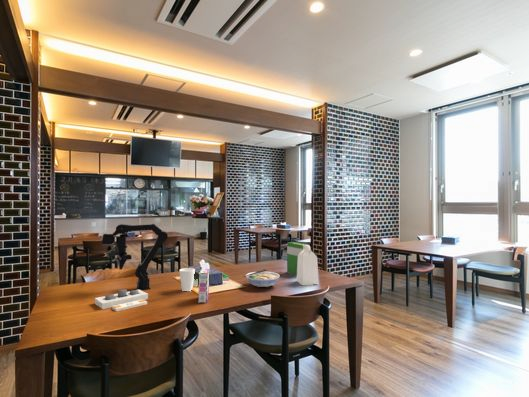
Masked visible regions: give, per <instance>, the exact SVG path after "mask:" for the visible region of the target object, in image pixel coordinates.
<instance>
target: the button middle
mask: <svg viewBox="0 0 529 397" xmlns="http://www.w3.org/2000/svg"><path fill="white" fill-rule="evenodd" d="M127 292H128V291H127V289H126V288H125V289H119V290H117V294H118V297H119V298H121V297H126V296H127Z"/></svg>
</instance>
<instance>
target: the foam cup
mask: <svg viewBox="0 0 529 397" xmlns="http://www.w3.org/2000/svg"><path fill="white" fill-rule="evenodd" d="M195 271H196V269H195V268H193V267H185V268H184V267H183V268H181V269H179V277H180V278H179V279H180V289H181V291H182V292H183V291H190V292H192V291H193V288H194V287H193V281H194V274H195ZM191 290H192V291H191Z"/></svg>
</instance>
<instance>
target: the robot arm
mask: <svg viewBox="0 0 529 397" xmlns="http://www.w3.org/2000/svg"><path fill="white" fill-rule="evenodd" d="M139 231H140V232H143V231H152V232H153V233H154V234H155V235H156V236H157V237H156V240H155V242H154V244H153V246H152V247H151V249H150V251H149V252H148V254H147V255H146V257H145V258H144V260H143V262H141V263H140V262H138V265H137V267H136V268H135V273H134V274H135V277H136V278H137V282H136V290H141V291H144V290H145V291H146V290H149V289H151V287H150V278H149V276H150V275H149V273H148V272H147V269H148V267H149V265H150V263H151V261H152V260H153V259H154V257H155V255H156V254H157V251H158V250H159V248H160V247H161V246H162V244H164V243H165V242H166V240H168V237H169V236H168V232H167V231H164V230H162V229H161V228H160V227H159V226H157V225H156V224H155V223H149V224H148V223H147V224H128V223H127V224H126V223H119V224H118V225H117V226H116V227H115V231H114V232H112V233H103V234H102V239H101V243H102V246H110V245H114V243H115V245H114V248H113V249H110V250H108V251H106V252H105V253H104V254H105V256H106V258H108V259H111V258H113V257H114V258H113V259H114V260H115V261H116V262H117V264H118V265H117V266H118V268H119V270H123V268H124V266H125V264H126V262H127V261H128V260H133V259H132V255H131V254H129V253H128V252H127V248H128V246H127V238H130V234H128V233H130V232H139Z"/></svg>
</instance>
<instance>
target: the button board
mask: <svg viewBox="0 0 529 397" xmlns="http://www.w3.org/2000/svg"><path fill="white" fill-rule="evenodd" d="M137 290H138V289H137ZM130 291H131V290H130ZM130 291H127V296H126V297H121V298H119V297H118V293H114V294H112V295H114V299H111V300H105V296H106V295H104V296H99V297H95V298H94V304H95V305H96V306H97V307H99V308H100V309H101V310H105V309H111V308H112V306H115V305H119V304H124V303H128V302H133V301H137V300H142V299H143V300H148V299H149V293H147V292H145V291H144V290H138V294H136V295H130Z"/></svg>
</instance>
